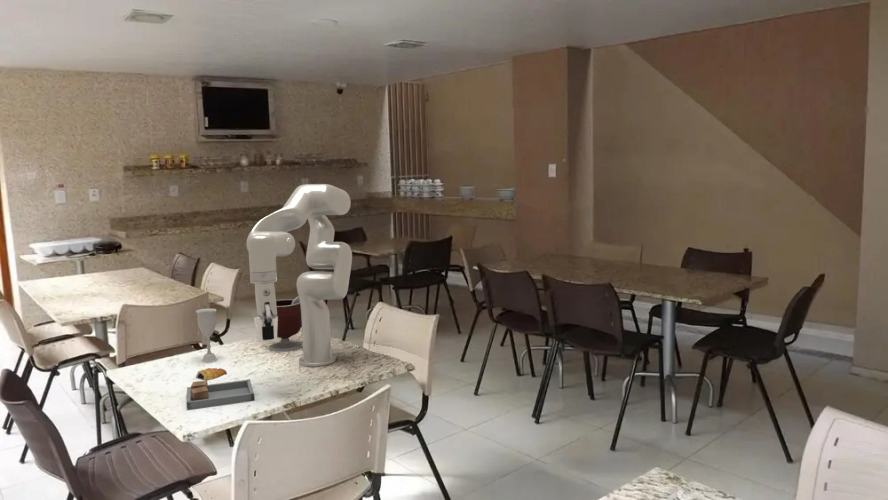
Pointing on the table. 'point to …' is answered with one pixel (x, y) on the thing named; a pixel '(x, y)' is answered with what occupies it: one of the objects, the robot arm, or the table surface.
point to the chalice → (207, 329)
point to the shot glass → (259, 326)
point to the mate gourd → (287, 324)
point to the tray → (223, 394)
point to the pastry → (210, 373)
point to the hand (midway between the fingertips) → (266, 336)
